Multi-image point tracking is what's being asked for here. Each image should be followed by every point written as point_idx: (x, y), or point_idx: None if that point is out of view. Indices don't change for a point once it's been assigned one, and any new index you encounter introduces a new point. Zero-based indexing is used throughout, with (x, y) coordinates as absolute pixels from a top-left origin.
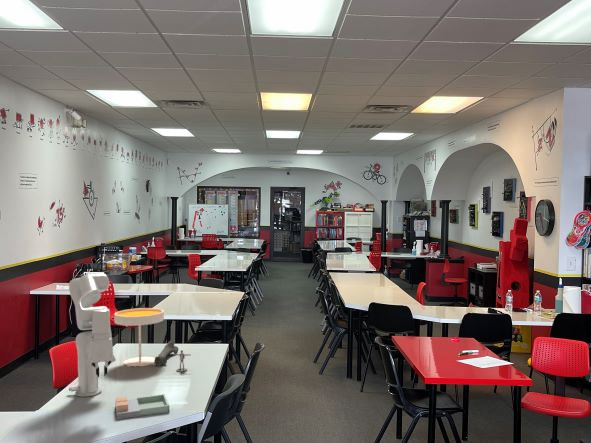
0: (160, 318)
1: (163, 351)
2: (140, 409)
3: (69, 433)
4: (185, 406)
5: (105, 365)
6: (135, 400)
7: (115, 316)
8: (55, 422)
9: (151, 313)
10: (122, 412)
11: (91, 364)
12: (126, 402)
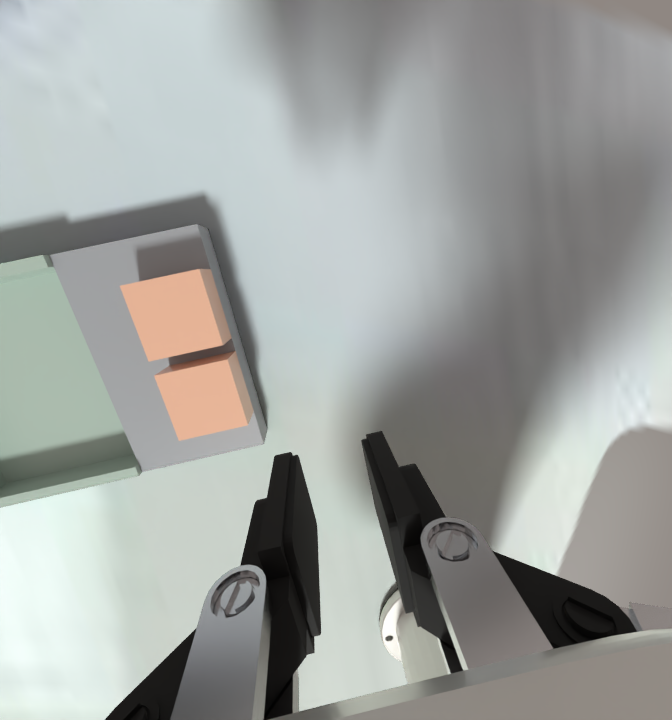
0: None
1: None
2: (41, 255)
3: (445, 40)
4: None
5: (255, 607)
6: (143, 445)
7: None
8: (539, 252)
9: None
10: (165, 241)
11: (619, 616)
12: (145, 330)
